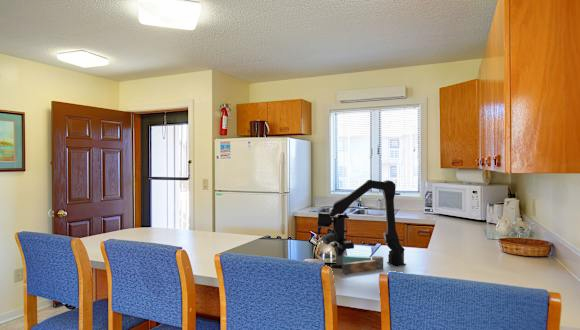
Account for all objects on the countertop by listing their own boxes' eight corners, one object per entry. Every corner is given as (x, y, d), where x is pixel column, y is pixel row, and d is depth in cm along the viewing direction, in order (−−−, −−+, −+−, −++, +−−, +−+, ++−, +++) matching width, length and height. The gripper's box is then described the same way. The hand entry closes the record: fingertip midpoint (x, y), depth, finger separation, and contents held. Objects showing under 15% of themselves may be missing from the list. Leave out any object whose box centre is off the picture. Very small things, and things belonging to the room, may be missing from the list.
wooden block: (379, 266, 176) (379, 255, 176) (386, 269, 170) (386, 258, 170) (338, 271, 168) (338, 260, 168) (345, 274, 162) (344, 263, 162)
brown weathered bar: (370, 265, 176) (370, 256, 176) (371, 266, 173) (370, 258, 173) (336, 263, 180) (336, 255, 180) (336, 264, 177) (336, 256, 177)
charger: (300, 279, 157) (304, 269, 172) (323, 279, 156) (324, 269, 171) (300, 267, 157) (304, 258, 172) (323, 268, 156) (324, 259, 171)
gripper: (315, 225, 187) (315, 256, 187) (333, 232, 169) (333, 266, 170) (335, 223, 191) (335, 254, 191) (354, 230, 174) (354, 264, 174)
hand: (338, 259), depth 181 cm, fingers closed
